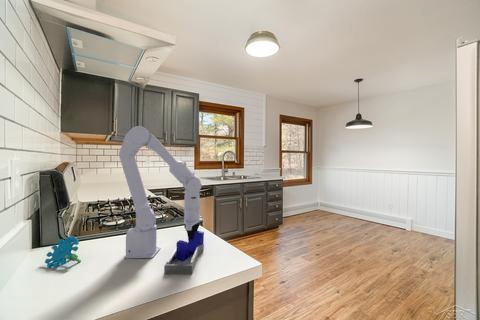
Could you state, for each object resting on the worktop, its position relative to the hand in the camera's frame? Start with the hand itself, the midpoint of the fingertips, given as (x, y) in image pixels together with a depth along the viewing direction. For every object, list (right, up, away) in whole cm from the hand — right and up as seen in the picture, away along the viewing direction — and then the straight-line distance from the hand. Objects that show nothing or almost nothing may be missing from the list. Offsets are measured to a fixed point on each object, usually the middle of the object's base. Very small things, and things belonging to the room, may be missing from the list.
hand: (192, 242), depth 86 cm
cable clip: (0, -1, -6) cm, 7 cm away
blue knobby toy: (-37, -1, -15) cm, 40 cm away
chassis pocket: (0, -1, -13) cm, 13 cm away
